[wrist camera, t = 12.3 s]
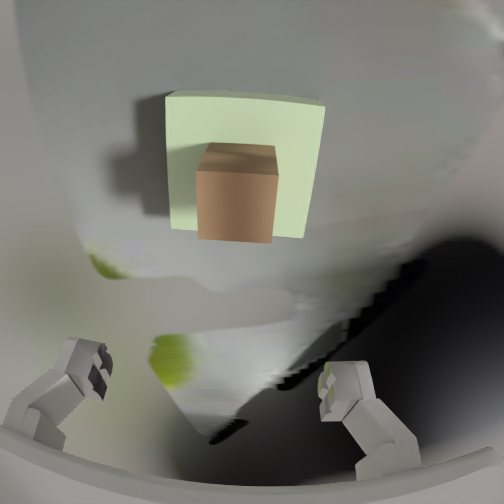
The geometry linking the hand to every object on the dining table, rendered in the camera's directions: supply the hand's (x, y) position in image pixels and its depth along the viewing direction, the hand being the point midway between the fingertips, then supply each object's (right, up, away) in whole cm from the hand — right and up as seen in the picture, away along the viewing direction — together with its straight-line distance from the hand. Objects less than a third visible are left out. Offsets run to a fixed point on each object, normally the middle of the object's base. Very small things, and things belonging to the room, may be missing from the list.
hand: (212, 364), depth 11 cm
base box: (+1, +13, +17) cm, 22 cm away
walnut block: (0, +10, +14) cm, 18 cm away
